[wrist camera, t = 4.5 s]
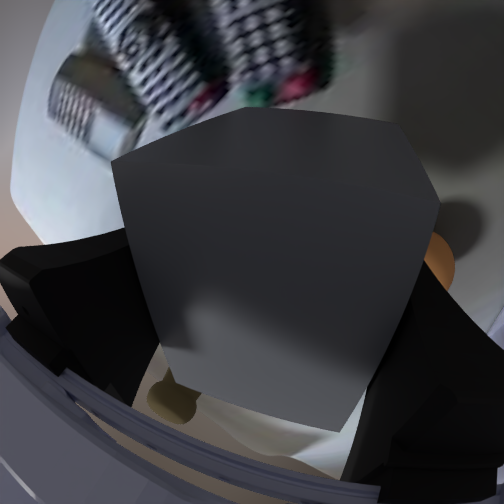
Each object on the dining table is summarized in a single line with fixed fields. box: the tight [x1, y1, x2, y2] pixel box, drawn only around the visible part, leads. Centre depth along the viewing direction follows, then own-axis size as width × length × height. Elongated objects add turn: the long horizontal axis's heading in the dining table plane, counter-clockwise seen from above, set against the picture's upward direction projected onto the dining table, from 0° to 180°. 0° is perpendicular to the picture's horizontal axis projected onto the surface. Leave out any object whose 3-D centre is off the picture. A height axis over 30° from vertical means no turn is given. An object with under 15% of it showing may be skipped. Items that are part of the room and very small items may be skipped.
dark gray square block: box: [111, 107, 441, 432], centre depth 10 cm, size 6×8×7 cm
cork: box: [147, 367, 201, 424], centre depth 30 cm, size 6×6×11 cm
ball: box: [424, 232, 455, 291], centre depth 17 cm, size 5×5×5 cm
